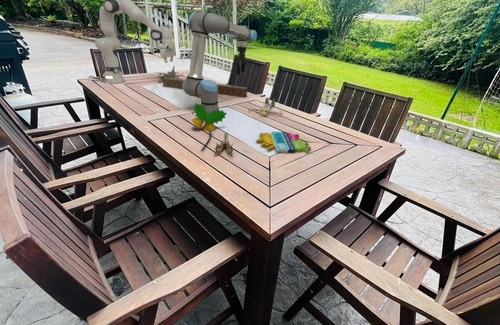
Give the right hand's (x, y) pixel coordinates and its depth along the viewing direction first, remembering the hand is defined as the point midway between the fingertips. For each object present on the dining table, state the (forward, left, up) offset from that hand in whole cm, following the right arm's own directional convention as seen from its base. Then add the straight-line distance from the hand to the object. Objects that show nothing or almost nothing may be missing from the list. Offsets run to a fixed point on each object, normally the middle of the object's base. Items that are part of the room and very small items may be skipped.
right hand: (240, 73), depth 227 cm
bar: (+17, +30, -20) cm, 40 cm away
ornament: (-74, +38, -20) cm, 86 cm away
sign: (-101, -1, -20) cm, 103 cm away
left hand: (+34, +59, +2) cm, 69 cm away
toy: (-44, -11, -20) cm, 50 cm away
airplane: (+70, +61, -20) cm, 95 cm away
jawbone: (-107, +34, -20) cm, 114 cm away
